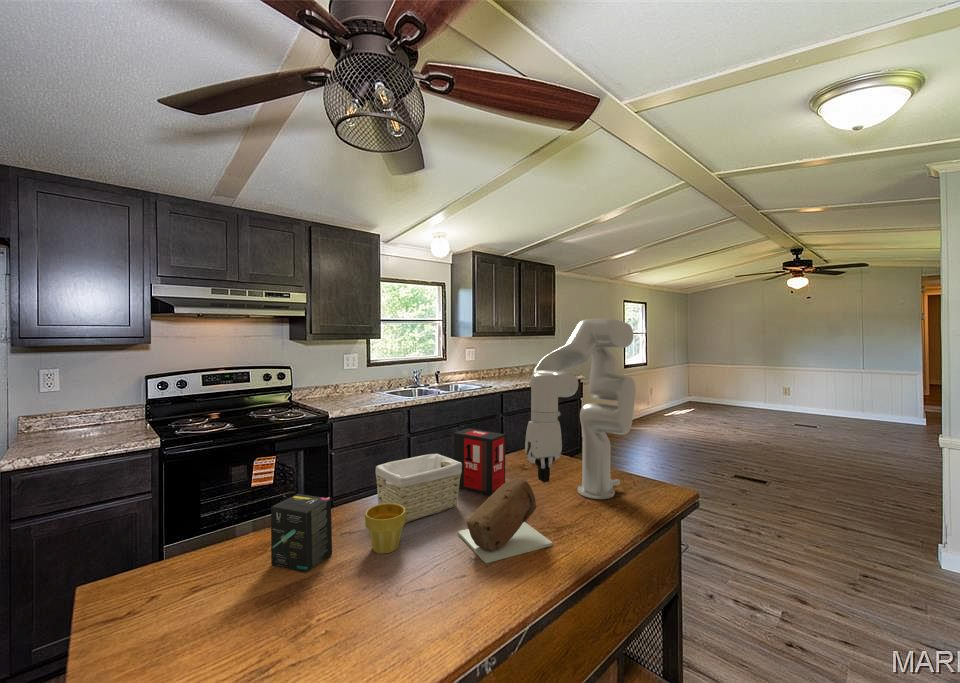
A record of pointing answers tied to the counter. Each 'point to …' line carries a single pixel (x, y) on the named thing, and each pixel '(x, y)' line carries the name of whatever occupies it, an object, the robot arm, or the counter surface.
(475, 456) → the cleaning product box
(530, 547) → the cutting board
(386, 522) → the plant pot
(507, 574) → the counter surface
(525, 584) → the counter surface
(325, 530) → the tampon box
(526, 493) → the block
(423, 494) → the storage basket
